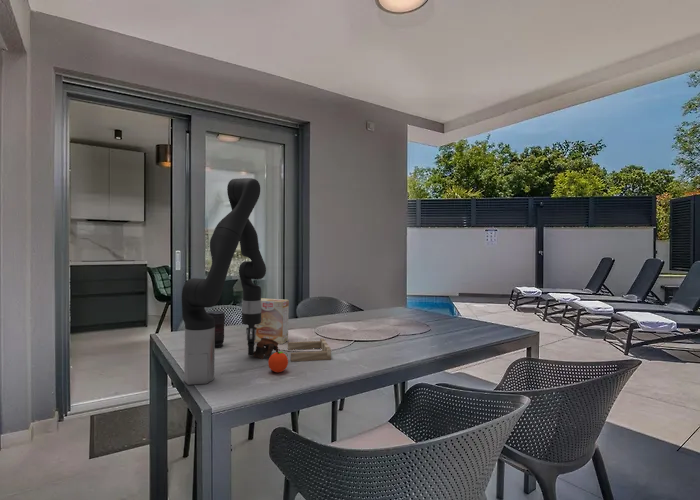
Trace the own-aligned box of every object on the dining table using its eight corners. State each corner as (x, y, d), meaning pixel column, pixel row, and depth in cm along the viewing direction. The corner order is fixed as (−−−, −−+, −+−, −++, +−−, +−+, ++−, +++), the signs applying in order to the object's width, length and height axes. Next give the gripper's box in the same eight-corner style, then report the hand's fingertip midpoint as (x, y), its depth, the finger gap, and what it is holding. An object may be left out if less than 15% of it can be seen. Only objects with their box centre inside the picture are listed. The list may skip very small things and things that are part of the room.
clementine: (281, 366, 142) (281, 347, 142) (294, 370, 138) (294, 351, 138) (263, 372, 136) (264, 351, 136) (276, 376, 132) (277, 355, 131)
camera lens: (218, 349, 164) (218, 314, 164) (201, 348, 166) (201, 313, 166) (228, 344, 172) (228, 311, 172) (211, 343, 174) (211, 310, 174)
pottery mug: (248, 356, 156) (256, 336, 160) (269, 364, 160) (276, 345, 164) (258, 355, 147) (266, 335, 150) (280, 364, 151) (287, 343, 154)
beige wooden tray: (330, 359, 152) (331, 349, 152) (291, 361, 149) (291, 351, 149) (323, 347, 170) (323, 338, 170) (287, 349, 166) (288, 339, 166)
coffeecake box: (252, 342, 178) (252, 299, 177) (259, 338, 184) (259, 297, 184) (282, 344, 174) (283, 301, 174) (288, 340, 181) (289, 299, 181)
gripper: (261, 314, 148) (260, 359, 148) (261, 308, 161) (260, 350, 161) (241, 314, 147) (240, 360, 147) (242, 309, 159) (241, 350, 160)
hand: (250, 354), depth 154 cm, fingers closed
